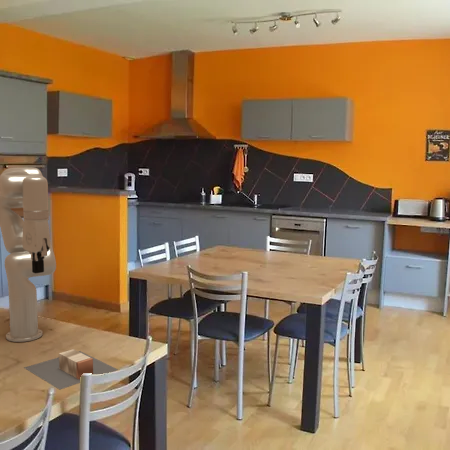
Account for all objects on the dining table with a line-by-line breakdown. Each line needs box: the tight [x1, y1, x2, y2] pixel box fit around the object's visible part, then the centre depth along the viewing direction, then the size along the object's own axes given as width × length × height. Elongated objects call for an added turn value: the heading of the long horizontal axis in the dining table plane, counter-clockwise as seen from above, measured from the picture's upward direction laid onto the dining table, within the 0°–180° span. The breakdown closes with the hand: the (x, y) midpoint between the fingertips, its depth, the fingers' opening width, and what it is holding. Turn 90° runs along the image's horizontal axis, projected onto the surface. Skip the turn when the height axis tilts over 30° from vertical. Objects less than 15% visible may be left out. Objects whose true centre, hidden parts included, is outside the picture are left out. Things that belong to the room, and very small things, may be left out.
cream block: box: [58, 348, 93, 379], centre depth 164 cm, size 5×5×11 cm
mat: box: [23, 350, 119, 391], centre depth 167 cm, size 22×20×1 cm
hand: (38, 272), depth 172 cm, fingers closed
